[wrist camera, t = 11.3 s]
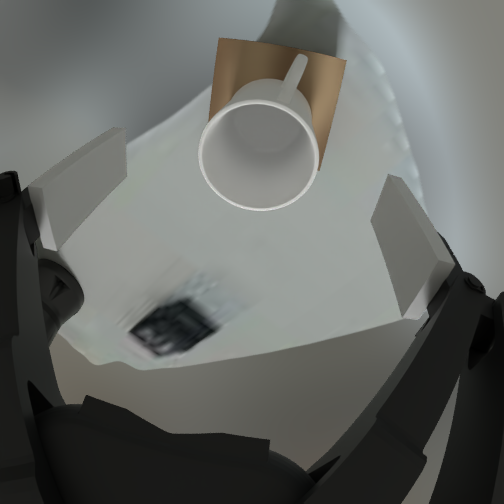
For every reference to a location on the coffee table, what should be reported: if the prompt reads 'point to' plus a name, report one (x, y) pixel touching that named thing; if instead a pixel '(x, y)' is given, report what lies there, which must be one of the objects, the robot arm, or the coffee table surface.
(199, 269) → the coffee table surface
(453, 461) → the robot arm
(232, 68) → the walnut box
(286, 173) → the mug
